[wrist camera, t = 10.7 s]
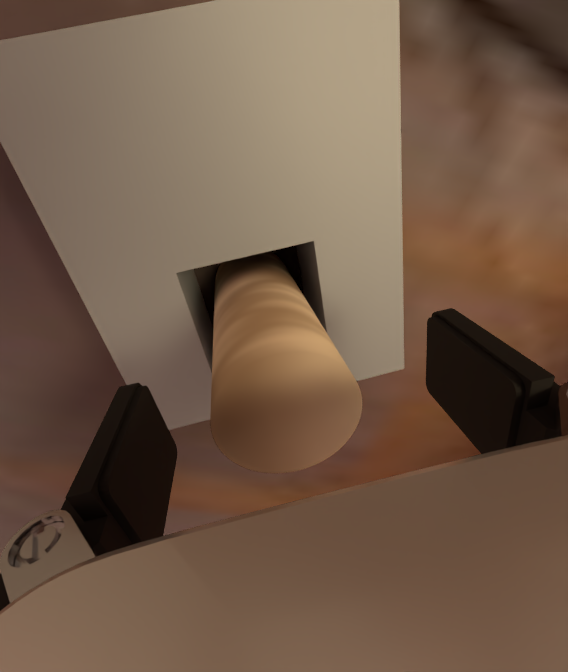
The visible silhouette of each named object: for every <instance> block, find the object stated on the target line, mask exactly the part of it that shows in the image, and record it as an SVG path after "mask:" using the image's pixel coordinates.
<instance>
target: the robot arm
mask: <svg viewBox="0 0 568 672" xmlns="http://www.w3.org/2000/svg"><path fill="white" fill-rule="evenodd" d="M554 378H555V376H554V375H552V374H551V373H549V372H548V371H546V370H545V369H543V368H542V367H540V366H539V365H537V364H536V363H534V362H533V361H531V360H530V359H528V358H527V357H525V356H524V355H522V354H521V353H519V352H518V351H516V350H515V349H513V348H512V347H510V346H509V345H507V344H506V343H504V342H503V341H501V340H500V339H498V338H497V337H495V336H494V335H492V334H491V333H489V332H488V331H486V330H485V329H483V328H482V327H480V326H479V325H477V324H476V323H474V322H473V321H471V320H470V319H468V318H467V317H465V316H464V315H462V314H461V313H459V312H458V311H456V310H455V309H452V308H450V309H446V310H442V311H437V312H434V313H433V314H432V317H431V318H429V319H428V322H427V360H426V386H427V389H428V391H429V393H430V394H431V395H432V397H433V398H434V399H435V400H436V401H437V402H438V404H439V405H440V406H441V407H442V408H443V409H444V411H445V412H446V413H447V414H448V415H449V416H450V418H451V419H452V420H453V421H454V422H455V423H456V425H457V426H458V427H459V428H460V429H461V430H462V432H463V433H464V434H465V435H466V436H467V437H468V439H469V440H470V441H471V442H472V443H473V444H474V446H475V447H476V448H477V449H478V450H479V451H480V453H481V454H480V455H476V456H472V457H468V458H464V459H460V460H456V461H452V462H448V463H444V464H440V465H436V466H432V467H428V468H424V469H420V470H416V471H412V472H407V473H403V474H399V475H395V476H391V477H388V478H384V479H380V480H376V481H372V482H368V483H364V484H360V485H356V486H352V487H348V488H344V489H340V490H336V491H332V492H329V493H325V494H321V495H317V496H313V497H309V498H305V499H301V500H297V501H293V502H290V503H286V504H282V505H278V506H274V507H270V508H266V509H263V510H259V511H255V512H251V513H247V514H243V515H240V516H236V517H232V518H228V519H224V520H220V521H217V522H213V523H209V524H205V525H201V526H197V527H194V528H190V529H187V530H183V531H179V532H176V533H172V534H169V535H165V536H163V533H164V527H165V521H166V516H167V510H168V504H169V499H170V493H171V487H172V482H173V476H174V470H175V465H176V459H177V447H176V444H175V442H174V440H173V438H172V436H171V434H170V432H169V430H168V427H167V425H166V423H165V421H164V419H163V417H162V415H161V413H160V411H159V409H158V407H157V405H156V402H155V400H154V398H153V396H152V394H151V392H150V390H149V388H148V387H147V386H146V385H145V386H142V385H141V384H140V383H134V384H130V385H125V386H121V387H119V389H118V390H117V392H116V394H115V397H114V399H113V401H112V403H111V405H110V407H109V409H108V411H107V413H106V415H105V417H104V419H103V421H102V423H101V425H100V428H99V430H98V432H97V434H96V436H95V438H94V440H93V442H92V444H91V446H90V448H89V450H88V452H87V454H86V456H85V459H84V461H83V463H82V465H81V467H80V469H79V471H78V473H77V475H76V477H75V479H74V481H73V483H72V485H71V487H70V490H69V492H68V494H67V496H66V500H65V502H64V504H63V506H62V508H61V510H59V509H58V510H53V511H49V512H46V513H44V514H41V515H39V516H38V517H36V518H34V519H33V520H31V521H30V522H28V523H27V524H26V525H25V526H23V527H22V528H21V529H20V530H19V531H18V532H17V533H16V534H15V535H14V536H13V537H12V538H11V540H10V541H9V542H8V544H7V545H6V547H5V548H4V550H3V552H2V555H1V558H0V571H1V574H0V672H568V382H567V383H564V384H563V385H562V386H559V385H558V384H556V383H555V382H554Z"/></svg>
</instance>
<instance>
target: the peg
mask: <svg viewBox="0 0 568 672" xmlns="http://www.w3.org/2000/svg"><path fill="white" fill-rule="evenodd" d="M361 413H362V395H361V390H360V388H359V385H358V383H357V381H356V380H355V378H354V376H353V375H352V373H351V371H350V370H349V368H348V366H347V365H346V363H345V362H344V360H343V358H342V357H341V355H340V354H339V352H338V350H337V349H336V347H335V345H334V344H333V342H332V341H331V339H330V337H329V336H328V334H327V333H326V331H325V329H324V328H323V326H322V325H321V323H320V321H319V320H318V318H317V316H316V315H315V313H314V312H313V310H312V308H311V307H310V305H309V304H308V302H307V300H306V299H305V297H304V295H303V294H302V292H301V291H300V289H299V287H298V286H297V284H296V283H295V281H294V279H293V278H292V276H291V274H290V273H289V271H288V270H287V268H286V266H285V265H284V263H283V262H282V260H281V259H280V258H279V257H278V256H277V255H275V254H274V253H273V252H271V251H268V252H264V253H260V254H255V255H251V256H247V257H243V258H238V259H234V260H230V261H225V262H222V263H221V264H220V266H219V268H218V270H217V273H216V278H215V302H214V330H213V358H212V385H211V413H210V426H211V433H212V436H213V439H214V441H215V443H216V445H217V446H218V448H219V449H220V451H221V452H222V453H223V454H224V455H225V456H226V457H227V458H228V459H230V460H231V461H233V462H234V463H236V464H238V465H239V466H241V467H244V468H246V469H249V470H253V471H257V472H263V473H288V472H294V471H298V470H302V469H305V468H309V467H311V466H314V465H316V464H318V463H320V462H322V461H324V460H326V459H327V458H329V457H330V456H332V455H333V454H334V453H336V452H337V451H338V450H339V449H341V448H342V447H343V446H344V444H345V443H346V442H347V441H348V440H349V439H350V437H351V436H352V434H353V433H354V431H355V430H356V428H357V425H358V423H359V421H360V417H361Z"/></svg>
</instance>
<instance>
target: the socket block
mask: <svg viewBox="0 0 568 672" xmlns="http://www.w3.org/2000/svg"><path fill="white" fill-rule="evenodd" d="M0 142H1V144H2V146H3V148H4V150H5V152H6V154H7V156H8V158H9V160H10V162H11V163H12V165H13V167H14V169H15V171H16V173H17V175H18V177H19V179H20V181H21V183H22V185H23V187H24V188H25V190H26V192H27V194H28V196H29V198H30V200H31V202H32V204H33V206H34V208H35V210H36V212H37V214H38V215H39V217H40V219H41V221H42V223H43V225H44V227H45V229H46V231H47V233H48V235H49V237H50V239H51V240H52V242H53V244H54V246H55V248H56V250H57V252H58V254H59V256H60V258H61V260H62V262H63V264H64V266H65V267H66V269H67V271H68V273H69V275H70V277H71V279H72V281H73V283H74V285H75V287H76V289H77V291H78V292H79V294H80V296H81V298H82V300H83V302H84V304H85V306H86V308H87V310H88V312H89V314H90V316H91V318H92V319H93V321H94V323H95V325H96V327H97V329H98V331H99V333H100V335H101V337H102V339H103V341H104V343H105V344H106V346H107V348H108V350H109V352H110V354H111V356H112V358H113V360H114V362H115V364H116V366H117V368H118V370H119V371H120V373H121V375H122V377H123V379H124V381H125V383H126V385H130V384H134V383H140V384H141V385H142V386H145V385H146V386H147V387H148V388H149V390H150V392H151V394H152V396H153V398H154V400H155V402H156V405H157V407H158V409H159V411H160V413H161V415H162V417H163V419H164V421H165V423H166V425H167V427H168V430H171V429H175V428H179V427H183V426H186V425H190V424H194V423H198V422H202V421H206V420H210V413H211V385H212V358H213V330H214V329H213V326H212V323H211V320H210V317H209V314H208V311H207V308H206V305H205V302H204V299H203V296H202V293H201V290H200V287H199V284H198V281H197V278H196V275H195V272H194V269H195V268H200V267H204V266H208V265H212V264H217V263H221V262H225V261H230V260H234V259H238V258H243V257H247V256H251V255H255V254H260V253H264V252H268V251H273V250H277V249H281V248H286V247H290V246H294V245H296V249H297V255H298V261H299V266H300V272H301V278H302V284H303V290H304V296H305V299H306V300H307V302H308V304H309V305H310V307H311V308H312V310H313V312H314V313H315V315H316V316H317V318H318V320H319V321H320V323H321V325H322V326H323V328H324V329H325V331H326V333H327V334H328V336H329V337H330V339H331V341H332V342H333V344H334V345H335V347H336V349H337V350H338V352H339V354H340V355H341V357H342V358H343V360H344V362H345V363H346V365H347V366H348V368H349V370H350V371H351V373H352V375H353V376H354V378H355V380H356V381H359V380H363V379H367V378H371V377H375V376H378V375H382V374H386V373H390V372H394V371H398V370H401V369H404V313H403V242H402V170H401V99H400V28H399V0H215V1H210V2H205V3H199V4H194V5H188V6H183V7H178V8H172V9H167V10H161V11H156V12H151V13H145V14H140V15H134V16H129V17H124V18H118V19H113V20H107V21H102V22H97V23H91V24H86V25H80V26H75V27H69V28H64V29H59V30H53V31H48V32H42V33H37V34H32V35H26V36H21V37H15V38H10V39H5V40H0Z"/></svg>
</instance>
